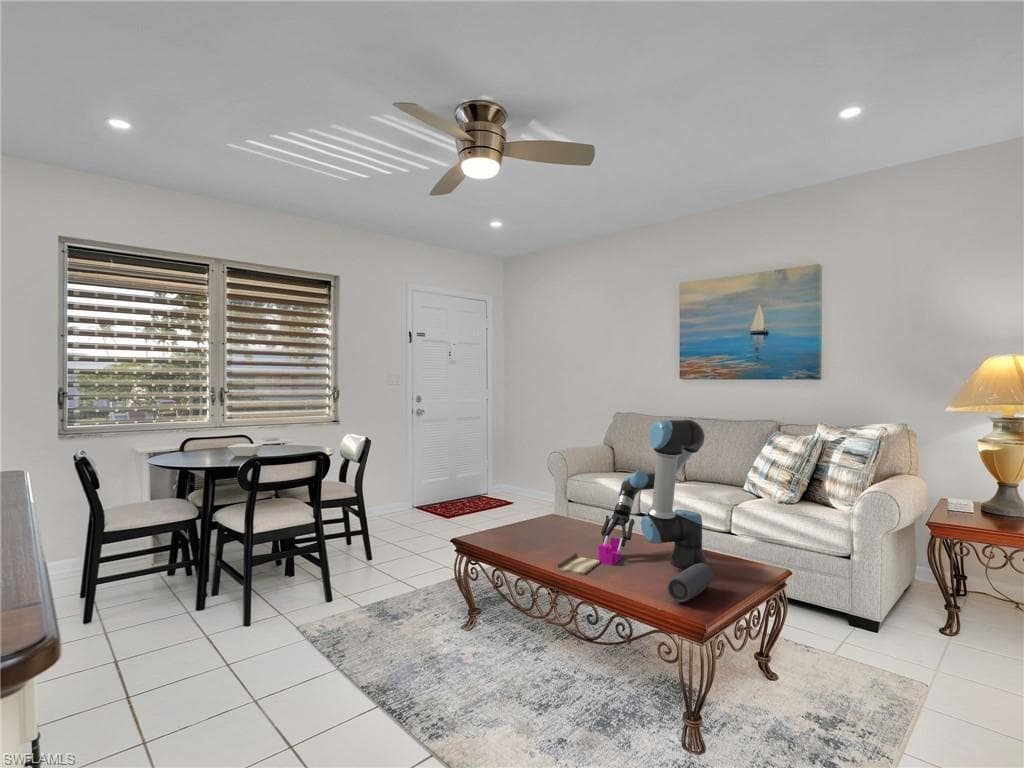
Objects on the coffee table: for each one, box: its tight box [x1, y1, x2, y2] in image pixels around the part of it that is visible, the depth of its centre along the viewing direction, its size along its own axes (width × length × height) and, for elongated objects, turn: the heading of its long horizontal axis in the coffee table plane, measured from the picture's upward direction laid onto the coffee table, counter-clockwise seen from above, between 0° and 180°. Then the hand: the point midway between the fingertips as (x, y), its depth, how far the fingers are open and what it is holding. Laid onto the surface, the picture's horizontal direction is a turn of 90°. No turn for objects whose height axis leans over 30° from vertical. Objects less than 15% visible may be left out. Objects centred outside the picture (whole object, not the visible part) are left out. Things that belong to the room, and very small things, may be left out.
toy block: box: [598, 537, 622, 566], centre depth 244 cm, size 15×6×8 cm, turn 146°
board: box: [557, 552, 601, 576], centre depth 235 cm, size 12×18×2 cm, turn 149°
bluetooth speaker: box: [667, 563, 714, 603], centre depth 202 cm, size 23×9×10 cm, turn 139°
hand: (611, 550), depth 243 cm, fingers closed on toy block, 6 cm apart
